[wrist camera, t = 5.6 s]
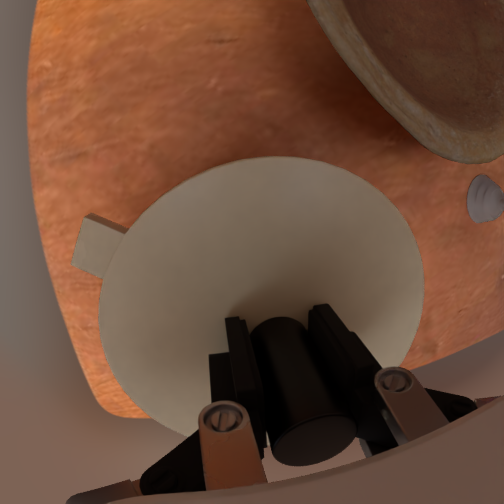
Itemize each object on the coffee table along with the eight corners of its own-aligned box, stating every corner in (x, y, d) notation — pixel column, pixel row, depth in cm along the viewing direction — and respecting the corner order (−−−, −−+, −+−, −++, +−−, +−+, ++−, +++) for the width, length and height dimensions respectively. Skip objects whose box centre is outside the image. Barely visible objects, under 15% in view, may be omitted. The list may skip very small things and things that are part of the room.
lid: (184, 91, 9) (161, 24, 4) (453, 246, 13) (546, 297, 7) (81, 386, 12) (47, 487, 7) (316, 444, 16) (348, 524, 10)
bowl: (405, 214, 24) (471, 240, 16) (192, -3, 16) (192, -66, 9) (508, 73, 21) (561, 70, 14) (369, -92, 14) (405, -127, 6)
